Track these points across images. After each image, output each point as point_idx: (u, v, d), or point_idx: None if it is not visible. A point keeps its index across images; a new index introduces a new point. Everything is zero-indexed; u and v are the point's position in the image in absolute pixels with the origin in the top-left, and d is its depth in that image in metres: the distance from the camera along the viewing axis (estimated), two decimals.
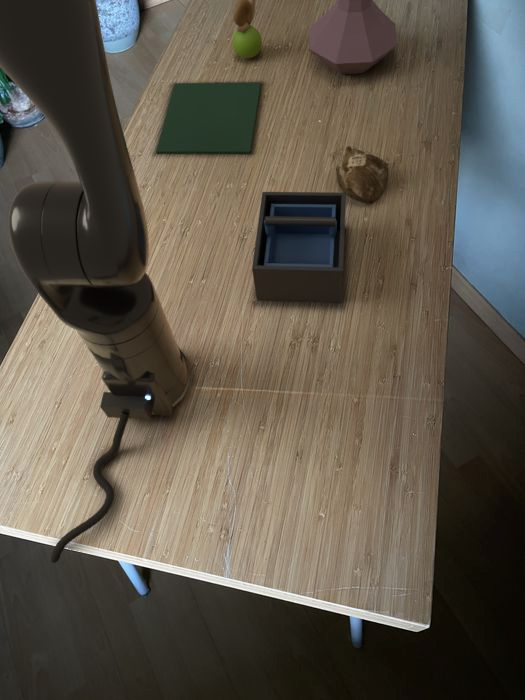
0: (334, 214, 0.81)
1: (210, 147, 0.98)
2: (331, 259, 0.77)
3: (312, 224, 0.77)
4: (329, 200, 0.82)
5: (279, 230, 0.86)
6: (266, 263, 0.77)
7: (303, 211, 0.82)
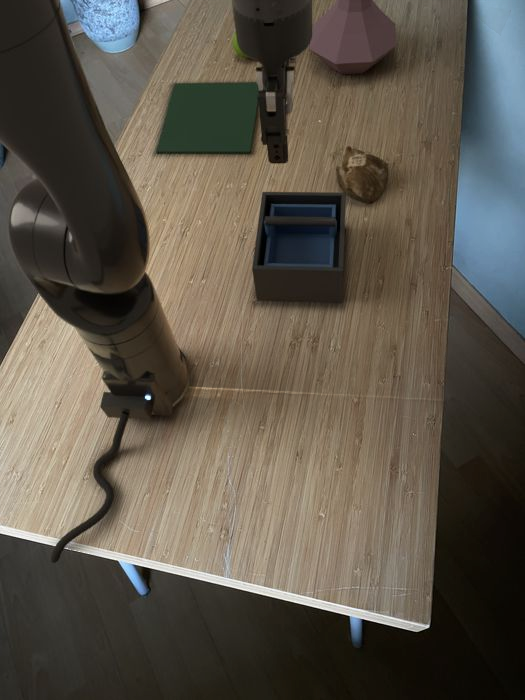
0: (334, 214, 0.81)
1: (210, 147, 0.98)
2: (331, 259, 0.77)
3: (312, 224, 0.77)
4: (329, 200, 0.82)
5: (279, 230, 0.86)
6: (266, 263, 0.77)
7: (303, 211, 0.82)
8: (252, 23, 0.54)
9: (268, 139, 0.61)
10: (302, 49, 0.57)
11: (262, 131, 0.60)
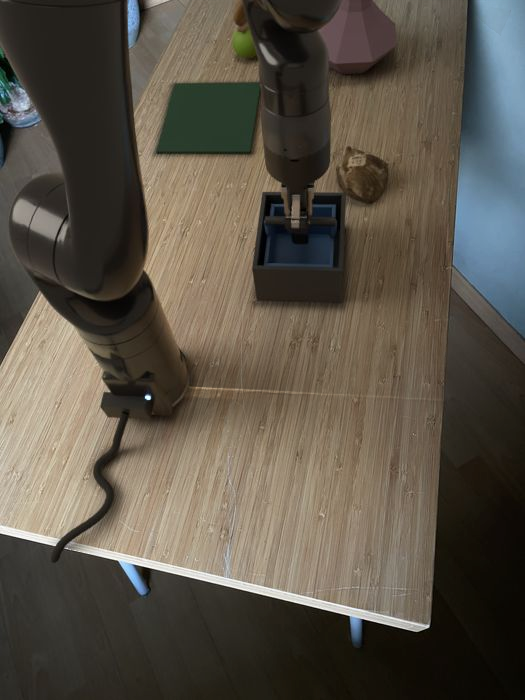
0: (334, 214, 0.81)
1: (210, 147, 0.98)
2: (331, 259, 0.77)
3: (312, 224, 0.77)
4: (329, 200, 0.82)
5: (279, 230, 0.86)
6: (266, 263, 0.77)
7: None
8: (279, 158, 0.64)
9: None
10: (321, 175, 0.67)
11: (288, 232, 0.73)
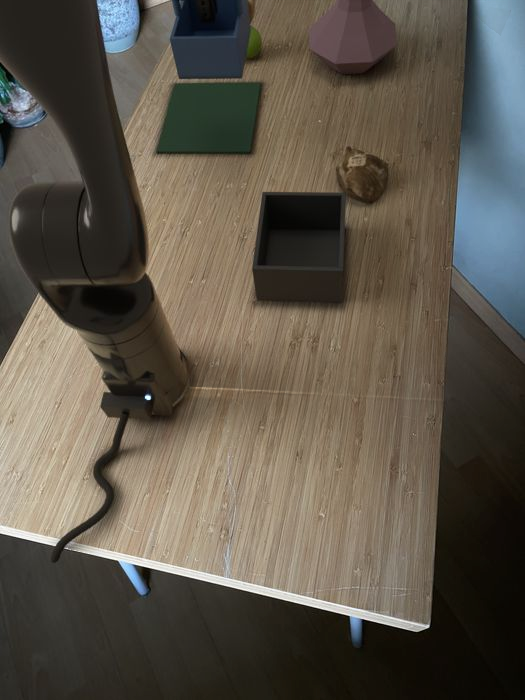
0: None
1: (210, 147, 0.98)
2: (235, 31, 0.77)
3: None
4: (329, 200, 0.82)
5: (195, 26, 0.87)
6: (172, 37, 0.78)
7: None
8: None
9: None
10: None
11: None
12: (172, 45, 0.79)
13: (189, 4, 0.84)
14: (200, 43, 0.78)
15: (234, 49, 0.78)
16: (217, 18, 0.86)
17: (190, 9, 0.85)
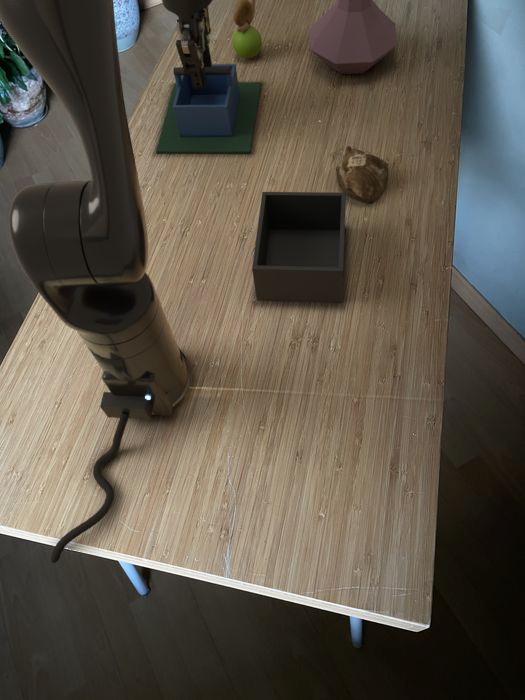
0: (233, 70, 0.99)
1: (210, 147, 0.98)
2: (226, 101, 0.95)
3: (211, 72, 0.95)
4: (329, 200, 0.82)
5: (193, 91, 1.05)
6: (175, 105, 0.96)
7: None
8: None
9: (188, 68, 0.89)
10: (205, 6, 0.84)
11: (183, 65, 0.88)
12: (174, 111, 0.96)
13: (188, 74, 1.02)
14: (197, 110, 0.95)
15: (225, 115, 0.96)
16: (211, 85, 1.03)
17: (189, 78, 1.02)
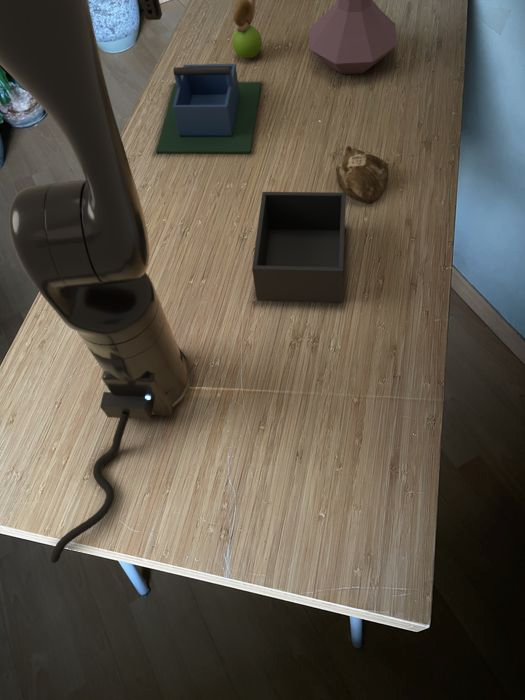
0: (233, 70, 0.99)
1: (210, 147, 0.98)
2: (226, 101, 0.95)
3: (211, 72, 0.95)
4: (329, 200, 0.82)
5: (193, 91, 1.05)
6: (175, 105, 0.96)
7: None
8: None
9: None
10: None
11: None
12: (174, 111, 0.96)
13: (188, 74, 1.02)
14: (197, 110, 0.95)
15: (225, 115, 0.96)
16: (211, 85, 1.03)
17: (189, 78, 1.02)
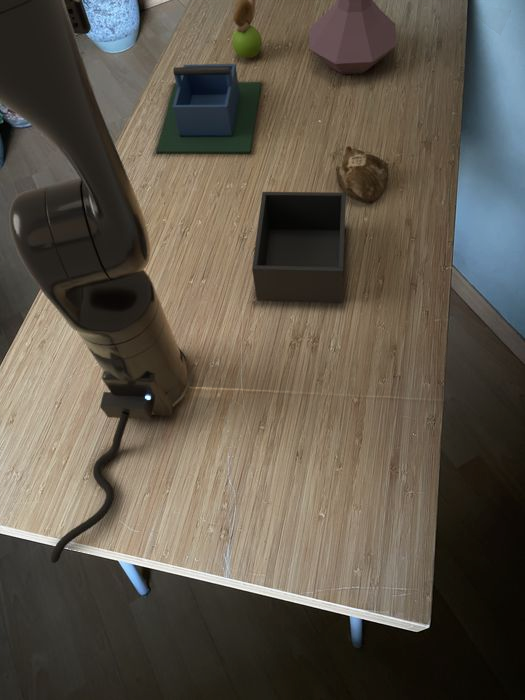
0: (233, 70, 0.99)
1: (210, 147, 0.98)
2: (226, 101, 0.95)
3: (211, 72, 0.95)
4: (329, 200, 0.82)
5: (193, 91, 1.05)
6: (175, 105, 0.96)
7: None
8: None
9: None
10: None
11: None
12: (174, 111, 0.96)
13: (188, 74, 1.02)
14: (197, 110, 0.95)
15: (225, 115, 0.96)
16: (211, 85, 1.03)
17: (189, 78, 1.02)
